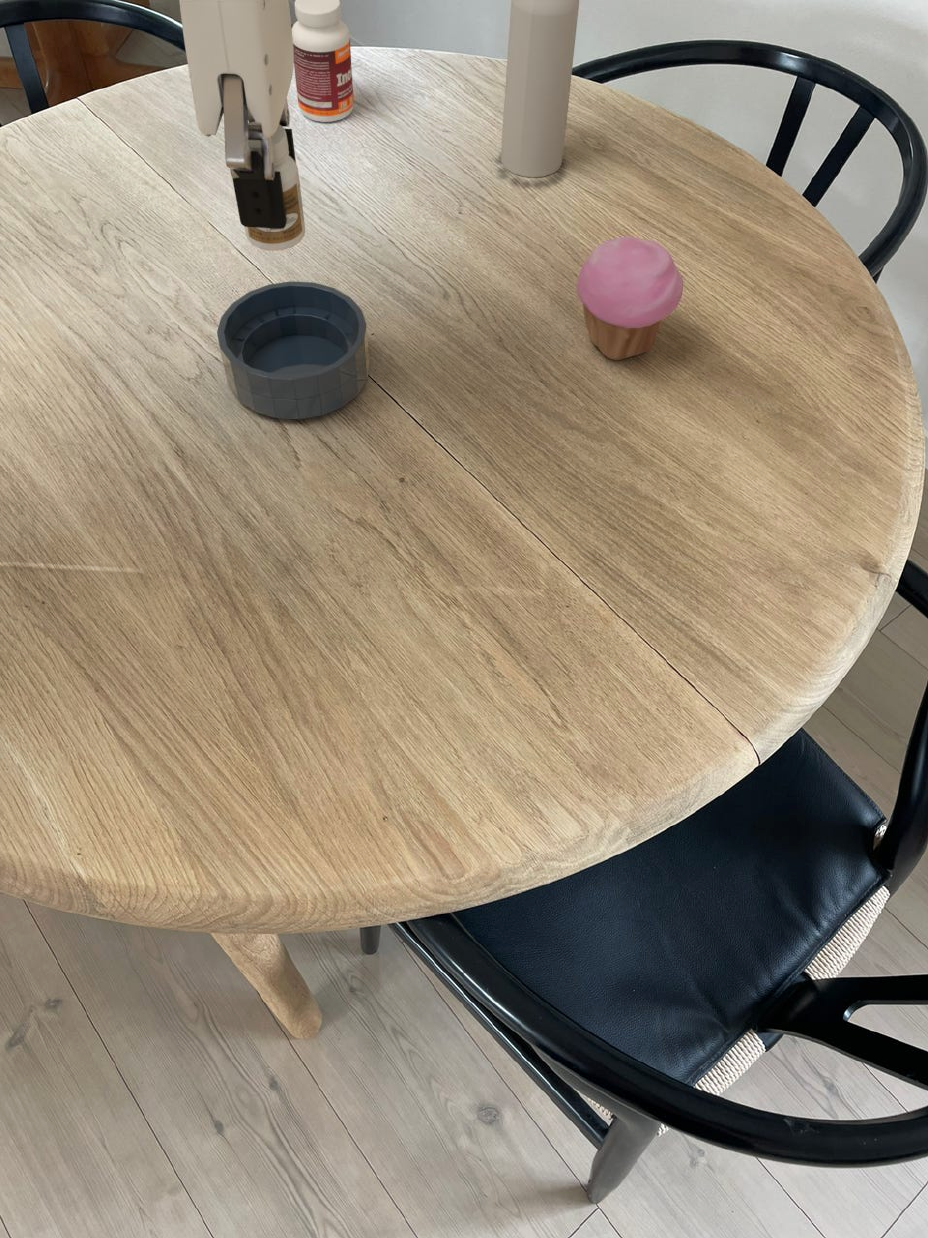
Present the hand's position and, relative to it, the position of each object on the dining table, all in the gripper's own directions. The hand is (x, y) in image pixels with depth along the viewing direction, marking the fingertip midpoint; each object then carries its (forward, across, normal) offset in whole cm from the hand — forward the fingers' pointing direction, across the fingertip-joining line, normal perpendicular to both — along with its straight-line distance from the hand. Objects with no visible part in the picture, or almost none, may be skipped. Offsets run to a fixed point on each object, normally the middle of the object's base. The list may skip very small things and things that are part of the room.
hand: (270, 200), depth 70 cm
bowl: (+17, -1, 0) cm, 17 cm away
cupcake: (+17, -7, +28) cm, 34 cm away
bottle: (+17, -36, +20) cm, 45 cm away
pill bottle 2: (+17, -44, -3) cm, 48 cm away
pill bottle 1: (+3, 0, 0) cm, 3 cm away
